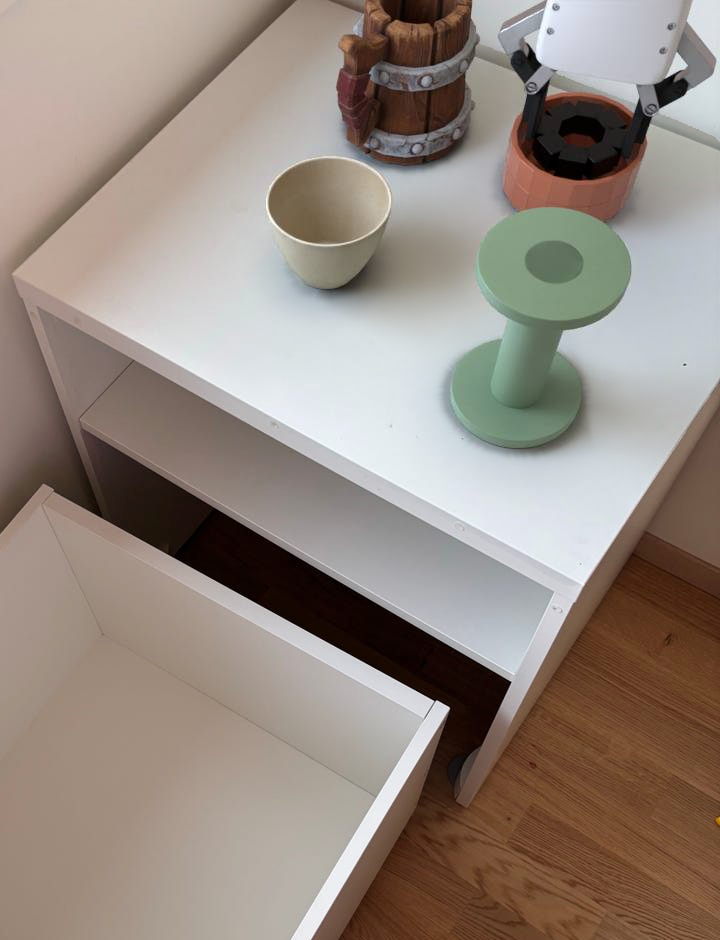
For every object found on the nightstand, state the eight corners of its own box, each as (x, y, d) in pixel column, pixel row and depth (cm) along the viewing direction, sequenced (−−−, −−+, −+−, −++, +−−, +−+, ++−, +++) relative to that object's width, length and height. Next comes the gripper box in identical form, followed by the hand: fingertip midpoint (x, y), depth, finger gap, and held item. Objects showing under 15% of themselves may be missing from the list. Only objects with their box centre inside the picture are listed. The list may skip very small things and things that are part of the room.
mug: (505, 112, 91) (518, -40, 77) (401, 219, 90) (395, 84, 76) (407, 57, 95) (403, -97, 81) (306, 159, 94) (284, 20, 80)
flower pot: (388, 310, 83) (395, 244, 76) (268, 313, 84) (265, 248, 77) (383, 222, 87) (389, 152, 81) (269, 226, 88) (266, 156, 81)
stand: (591, 363, 80) (645, 224, 67) (562, 462, 76) (614, 335, 63) (468, 333, 81) (498, 193, 69) (434, 429, 78) (460, 300, 65)
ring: (628, 129, 85) (634, 109, 83) (610, 187, 82) (617, 168, 80) (544, 113, 86) (548, 94, 84) (524, 170, 83) (528, 151, 82)
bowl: (640, 156, 89) (658, 105, 84) (614, 244, 84) (632, 196, 80) (517, 132, 91) (529, 81, 86) (487, 217, 87) (497, 168, 82)
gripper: (788, -107, 67) (694, 127, 83) (529, -142, 70) (488, 89, 86) (771, -39, 64) (678, 190, 80) (503, -79, 67) (465, 148, 83)
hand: (580, 136), depth 83 cm, fingers closed on ring, 7 cm apart
